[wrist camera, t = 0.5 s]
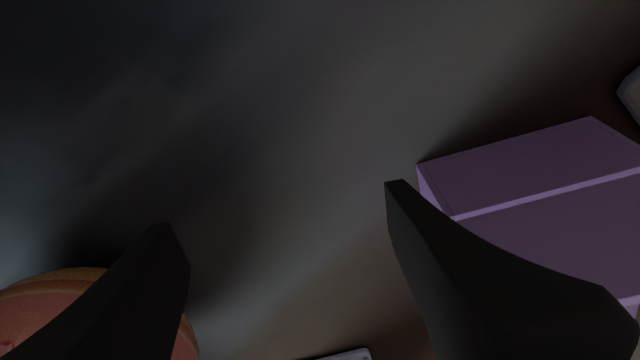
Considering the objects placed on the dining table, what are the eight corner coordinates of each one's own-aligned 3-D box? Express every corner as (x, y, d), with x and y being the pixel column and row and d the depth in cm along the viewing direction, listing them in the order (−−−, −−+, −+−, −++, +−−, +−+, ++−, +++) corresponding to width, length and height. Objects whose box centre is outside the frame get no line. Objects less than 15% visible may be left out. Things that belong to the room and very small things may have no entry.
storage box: (415, 164, 24) (452, 228, 19) (590, 115, 24) (679, 168, 18) (438, 303, 32) (469, 376, 27) (571, 269, 31) (630, 338, 26)
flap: (453, 229, 19) (451, 222, 19) (675, 170, 19) (676, 163, 18) (524, 331, 13) (523, 323, 13) (862, 250, 12) (865, 239, 12)
